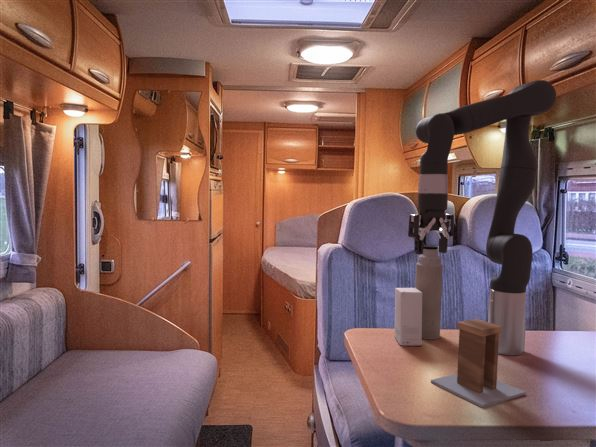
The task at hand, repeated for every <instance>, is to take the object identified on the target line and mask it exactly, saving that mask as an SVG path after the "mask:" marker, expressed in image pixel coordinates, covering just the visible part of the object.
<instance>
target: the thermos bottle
mask: <svg viewBox="0 0 596 447" xmlns="http://www.w3.org/2000/svg"><path fill="white" fill-rule="evenodd" d="M417 260H418V261H417V262H416V263H415V279H414V288H416V289H418V290H419V291H421V292H422V339H423V340H437V339H439V338H440V337H441V320H442V319H441V317H442V316H441V314H442V297H443V296H442V294H443V274H444V272H443V270H444V265H443V264H442V263H441V261H442V258H441V256H439V245H438V246H437V245H430V244H427V245H424V244H423V254H421V255H420V254H419V255H418V259H417Z"/></svg>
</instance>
